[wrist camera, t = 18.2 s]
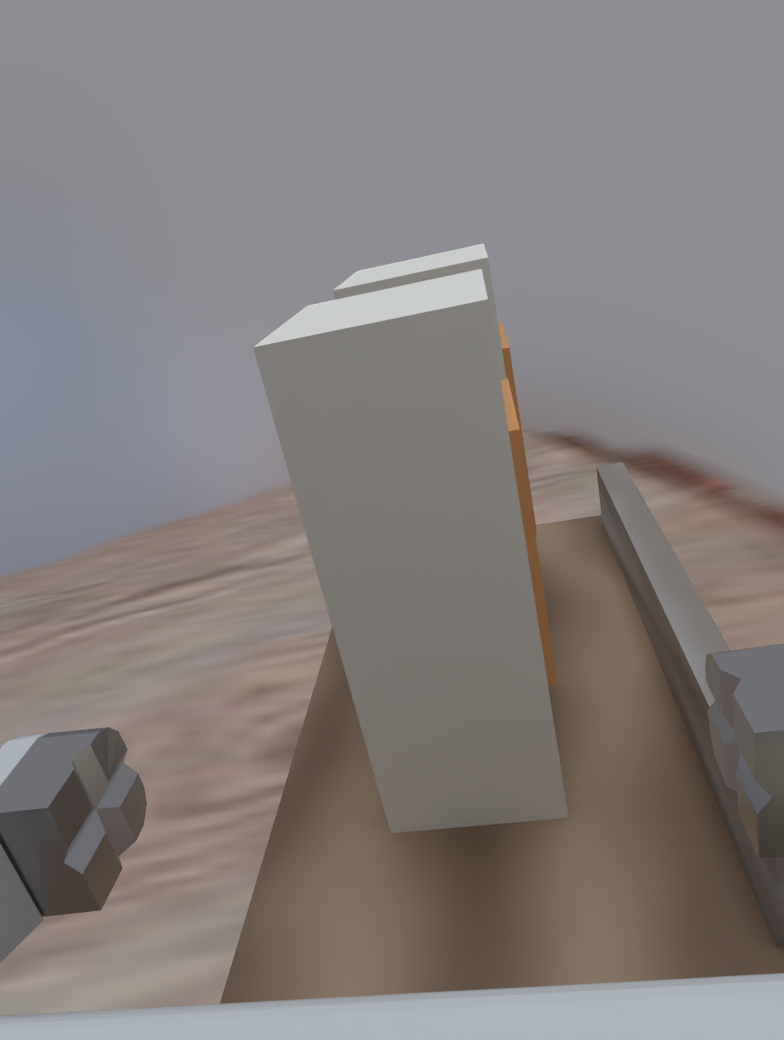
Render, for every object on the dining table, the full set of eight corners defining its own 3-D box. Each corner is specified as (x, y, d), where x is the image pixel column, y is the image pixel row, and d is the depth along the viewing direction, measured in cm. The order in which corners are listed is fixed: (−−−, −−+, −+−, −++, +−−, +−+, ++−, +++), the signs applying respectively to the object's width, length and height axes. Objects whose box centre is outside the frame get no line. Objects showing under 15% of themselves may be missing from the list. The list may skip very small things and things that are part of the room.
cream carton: (390, 833, 21) (253, 347, 16) (405, 700, 27) (307, 305, 21) (577, 816, 20) (500, 296, 15) (553, 682, 26) (490, 266, 20)
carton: (417, 652, 29) (333, 290, 24) (425, 579, 35) (357, 270, 29) (552, 635, 28) (496, 255, 23) (538, 562, 34) (489, 242, 28)
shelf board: (234, 1059, 18) (173, 930, 16) (361, 577, 40) (341, 500, 38) (865, 1036, 15) (875, 883, 14) (630, 538, 37) (622, 454, 35)
